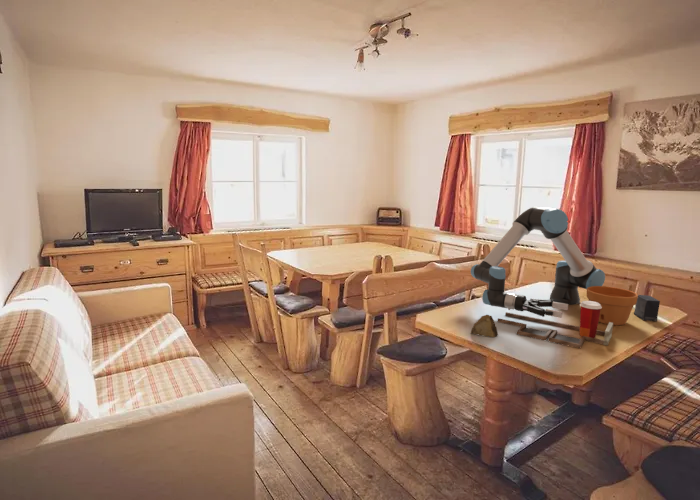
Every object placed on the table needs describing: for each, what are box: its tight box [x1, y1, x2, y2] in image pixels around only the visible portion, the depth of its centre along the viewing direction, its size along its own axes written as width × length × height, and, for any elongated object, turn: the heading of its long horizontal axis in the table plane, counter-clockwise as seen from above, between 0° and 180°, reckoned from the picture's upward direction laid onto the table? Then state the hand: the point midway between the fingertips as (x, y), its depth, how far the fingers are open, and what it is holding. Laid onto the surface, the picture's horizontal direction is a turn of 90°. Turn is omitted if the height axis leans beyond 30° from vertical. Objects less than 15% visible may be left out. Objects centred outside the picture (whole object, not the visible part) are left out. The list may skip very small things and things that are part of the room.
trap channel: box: [497, 311, 614, 349], centre depth 188 cm, size 46×24×6 cm, turn 53°
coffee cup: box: [579, 300, 602, 339], centre depth 183 cm, size 8×8×15 cm
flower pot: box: [586, 285, 639, 326], centre depth 204 cm, size 21×21×15 cm
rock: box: [470, 314, 499, 338], centre depth 185 cm, size 11×9×10 cm
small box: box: [633, 294, 661, 322], centre depth 209 cm, size 11×6×10 cm, turn 168°
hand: (564, 310), depth 189 cm, fingers open, 13 cm apart
